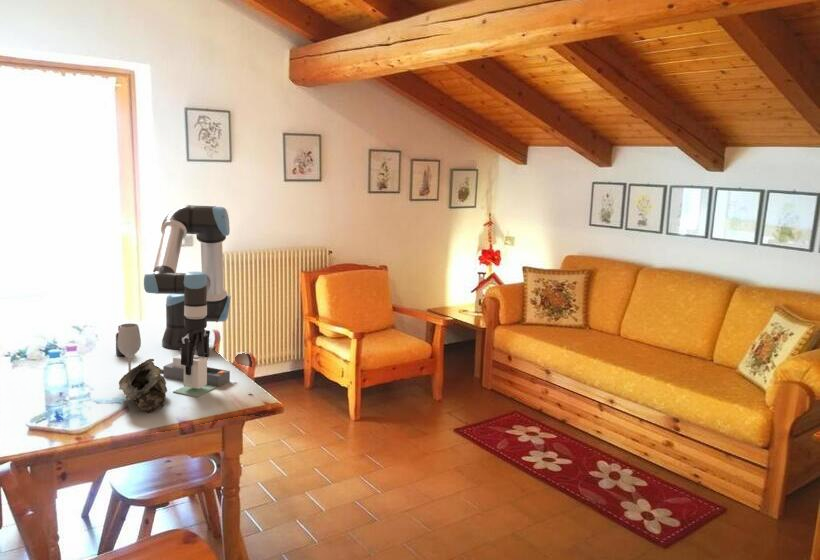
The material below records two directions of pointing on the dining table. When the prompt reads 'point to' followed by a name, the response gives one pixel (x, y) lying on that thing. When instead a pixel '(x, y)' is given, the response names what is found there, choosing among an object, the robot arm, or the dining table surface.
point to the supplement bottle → (117, 346)
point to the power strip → (213, 375)
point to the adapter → (177, 362)
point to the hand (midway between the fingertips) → (195, 380)
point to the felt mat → (194, 390)
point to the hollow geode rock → (145, 386)
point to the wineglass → (129, 340)
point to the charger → (198, 372)
